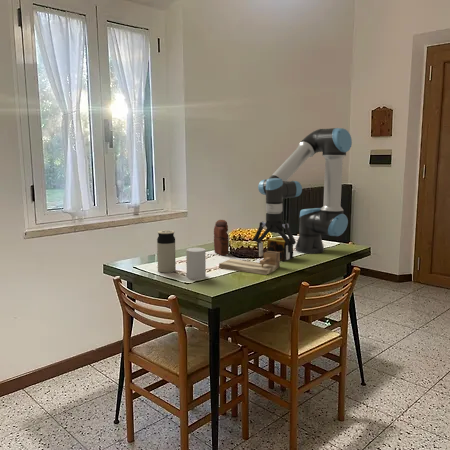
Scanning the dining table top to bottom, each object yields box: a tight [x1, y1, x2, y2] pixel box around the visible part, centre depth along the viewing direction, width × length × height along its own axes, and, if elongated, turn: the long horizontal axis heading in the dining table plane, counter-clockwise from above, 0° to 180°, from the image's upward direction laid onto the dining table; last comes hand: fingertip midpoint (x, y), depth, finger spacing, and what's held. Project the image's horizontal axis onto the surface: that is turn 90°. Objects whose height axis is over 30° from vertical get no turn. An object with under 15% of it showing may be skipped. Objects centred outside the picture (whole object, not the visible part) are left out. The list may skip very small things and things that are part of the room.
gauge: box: [259, 250, 281, 269], centre depth 208 cm, size 14×6×7 cm, turn 151°
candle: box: [266, 236, 294, 262], centre depth 229 cm, size 10×10×10 cm
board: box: [218, 258, 278, 276], centre depth 209 cm, size 11×24×2 cm, turn 61°
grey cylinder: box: [185, 247, 207, 281], centre depth 194 cm, size 8×8×12 cm
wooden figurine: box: [213, 219, 230, 257], centre depth 239 cm, size 12×6×18 cm, turn 25°
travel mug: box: [156, 229, 177, 274], centre depth 204 cm, size 8×8×18 cm
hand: (274, 257), depth 212 cm, fingers open, 13 cm apart
